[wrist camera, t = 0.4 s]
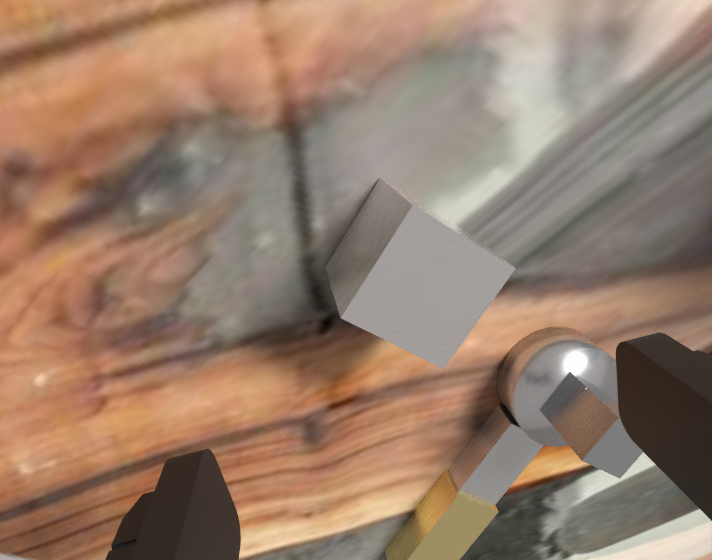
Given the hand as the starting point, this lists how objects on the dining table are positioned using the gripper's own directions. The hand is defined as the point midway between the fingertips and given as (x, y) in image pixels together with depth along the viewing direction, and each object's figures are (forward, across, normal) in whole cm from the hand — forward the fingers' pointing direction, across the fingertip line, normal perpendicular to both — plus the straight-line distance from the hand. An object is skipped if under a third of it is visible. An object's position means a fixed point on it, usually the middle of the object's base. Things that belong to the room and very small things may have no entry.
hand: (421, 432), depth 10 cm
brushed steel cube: (+19, -2, +2) cm, 19 cm away
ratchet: (+20, -6, +19) cm, 28 cm away
